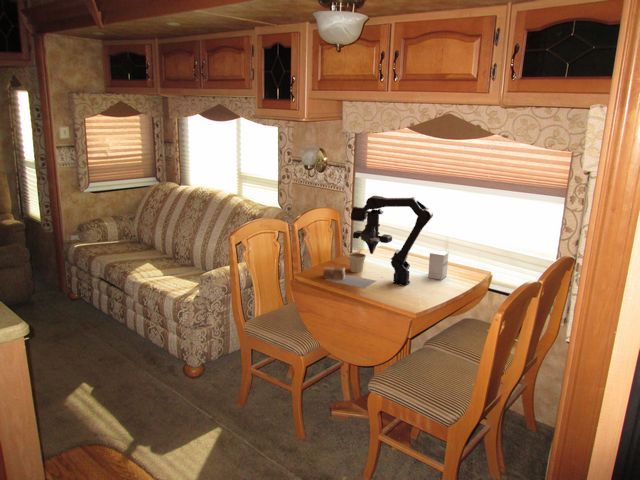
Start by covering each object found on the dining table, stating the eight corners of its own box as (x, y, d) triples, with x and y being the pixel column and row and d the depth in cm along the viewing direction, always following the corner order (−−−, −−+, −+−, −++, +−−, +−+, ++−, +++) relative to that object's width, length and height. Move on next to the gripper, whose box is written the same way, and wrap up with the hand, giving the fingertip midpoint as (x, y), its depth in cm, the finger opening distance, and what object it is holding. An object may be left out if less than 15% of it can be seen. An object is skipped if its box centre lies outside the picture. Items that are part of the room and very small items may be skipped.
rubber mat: (376, 281, 251) (376, 280, 251) (364, 289, 240) (364, 288, 240) (337, 273, 262) (337, 272, 262) (324, 280, 252) (324, 279, 252)
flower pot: (344, 272, 264) (344, 256, 262) (351, 267, 272) (352, 251, 270) (361, 275, 260) (361, 258, 258) (368, 270, 268) (368, 254, 266)
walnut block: (345, 268, 255) (325, 266, 257) (343, 270, 251) (323, 269, 253) (345, 276, 256) (325, 275, 258) (343, 279, 252) (323, 278, 254)
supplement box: (442, 280, 254) (443, 255, 250) (427, 277, 257) (429, 253, 254) (447, 276, 260) (448, 252, 257) (433, 273, 264) (434, 249, 260)
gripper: (347, 223, 245) (346, 254, 249) (382, 228, 236) (381, 260, 239) (358, 218, 254) (357, 249, 258) (393, 223, 245) (391, 255, 249)
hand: (371, 253), depth 251 cm, fingers closed
